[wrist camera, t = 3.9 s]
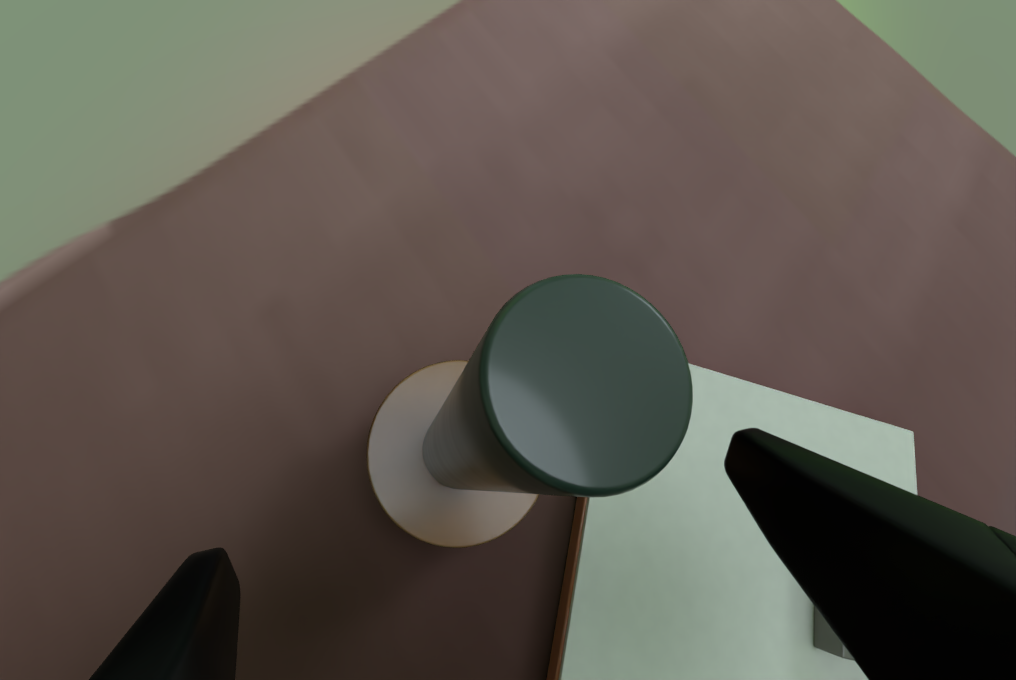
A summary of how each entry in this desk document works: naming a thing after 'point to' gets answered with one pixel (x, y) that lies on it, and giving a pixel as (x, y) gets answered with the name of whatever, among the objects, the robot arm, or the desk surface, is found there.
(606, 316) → the cylinder on round base
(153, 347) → the desk surface
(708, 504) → the white tile
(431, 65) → the desk surface
